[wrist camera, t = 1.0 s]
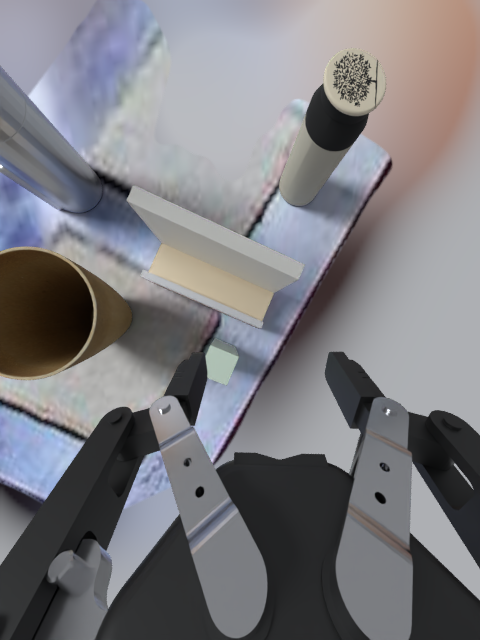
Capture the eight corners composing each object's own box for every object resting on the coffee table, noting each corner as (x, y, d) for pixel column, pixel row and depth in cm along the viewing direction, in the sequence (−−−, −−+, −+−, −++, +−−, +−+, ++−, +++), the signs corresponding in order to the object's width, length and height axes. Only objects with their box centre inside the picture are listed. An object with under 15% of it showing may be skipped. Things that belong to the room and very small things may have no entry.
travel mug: (275, 202, 40) (317, 104, 22) (282, 164, 40) (329, 35, 22) (312, 211, 40) (382, 122, 22) (319, 174, 40) (394, 56, 22)
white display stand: (255, 327, 39) (276, 332, 23) (153, 283, 38) (100, 256, 22) (272, 287, 39) (304, 264, 23) (172, 241, 38) (133, 184, 22)
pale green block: (226, 367, 39) (226, 385, 28) (205, 358, 38) (197, 373, 27) (235, 346, 39) (239, 356, 28) (214, 337, 39) (210, 344, 28)
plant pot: (146, 273, 38) (87, 239, 22) (155, 349, 38) (104, 370, 22) (65, 282, 36) (-59, 252, 21) (76, 359, 37) (-39, 390, 21)
